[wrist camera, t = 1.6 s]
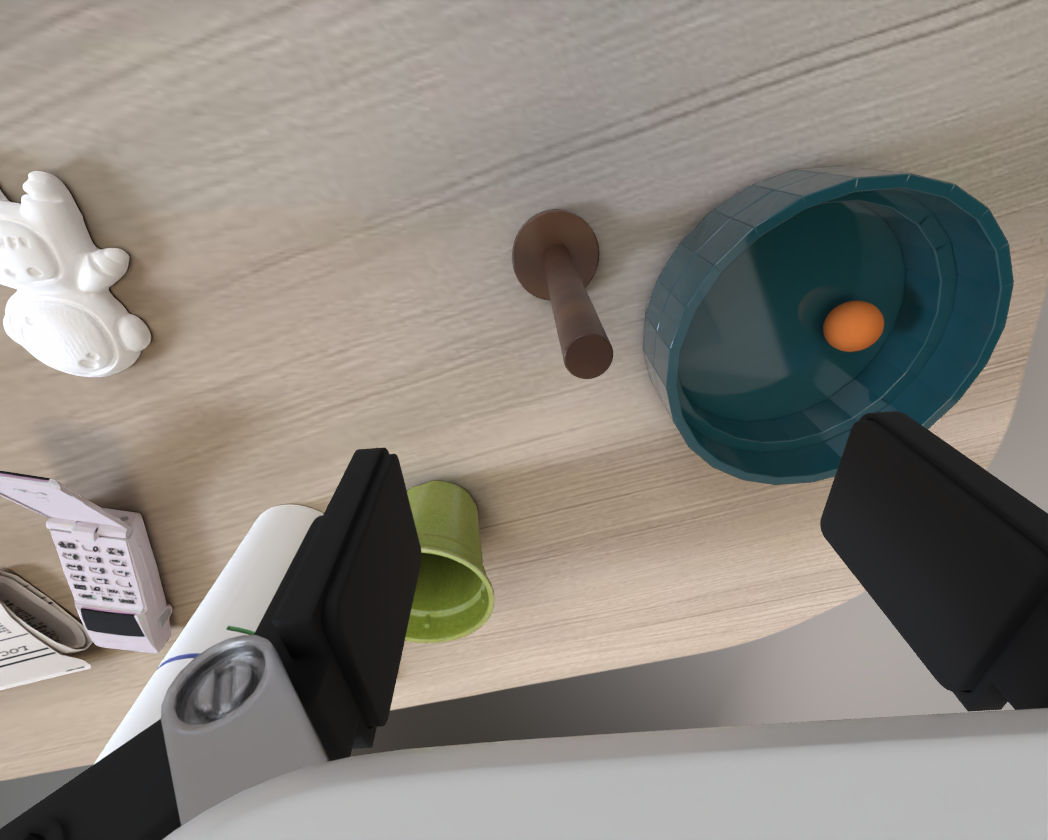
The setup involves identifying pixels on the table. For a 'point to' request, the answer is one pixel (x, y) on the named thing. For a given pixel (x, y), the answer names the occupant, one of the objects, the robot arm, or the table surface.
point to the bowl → (823, 315)
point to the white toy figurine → (64, 285)
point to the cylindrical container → (225, 607)
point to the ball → (853, 326)
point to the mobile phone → (101, 563)
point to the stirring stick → (565, 285)
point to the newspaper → (36, 635)
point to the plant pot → (447, 565)
